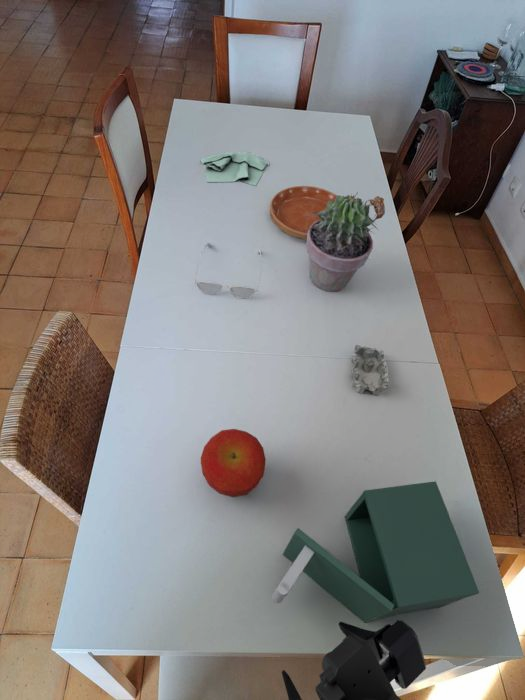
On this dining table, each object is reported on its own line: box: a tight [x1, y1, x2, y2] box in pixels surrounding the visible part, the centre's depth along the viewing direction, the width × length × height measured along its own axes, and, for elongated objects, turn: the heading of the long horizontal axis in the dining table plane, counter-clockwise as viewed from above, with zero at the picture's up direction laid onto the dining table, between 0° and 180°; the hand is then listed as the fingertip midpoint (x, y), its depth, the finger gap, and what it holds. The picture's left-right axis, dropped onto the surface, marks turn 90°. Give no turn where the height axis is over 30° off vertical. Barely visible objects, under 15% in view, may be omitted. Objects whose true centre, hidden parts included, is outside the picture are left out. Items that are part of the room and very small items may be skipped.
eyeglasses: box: [193, 242, 263, 299], centre depth 113 cm, size 15×18×4 cm
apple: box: [200, 428, 267, 498], centre depth 78 cm, size 11×11×12 cm
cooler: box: [344, 480, 480, 620], centre depth 72 cm, size 12×16×13 cm
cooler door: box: [271, 527, 395, 624], centre depth 66 cm, size 8×16×13 cm, turn 53°
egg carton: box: [351, 344, 389, 396], centre depth 98 cm, size 11×8×4 cm
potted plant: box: [299, 191, 386, 293], centre depth 107 cm, size 18×20×25 cm
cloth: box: [199, 151, 269, 187], centre depth 142 cm, size 20×22×2 cm
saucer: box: [269, 185, 338, 241], centre depth 129 cm, size 23×23×4 cm
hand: (312, 648), depth 58 cm, fingers open, 9 cm apart
